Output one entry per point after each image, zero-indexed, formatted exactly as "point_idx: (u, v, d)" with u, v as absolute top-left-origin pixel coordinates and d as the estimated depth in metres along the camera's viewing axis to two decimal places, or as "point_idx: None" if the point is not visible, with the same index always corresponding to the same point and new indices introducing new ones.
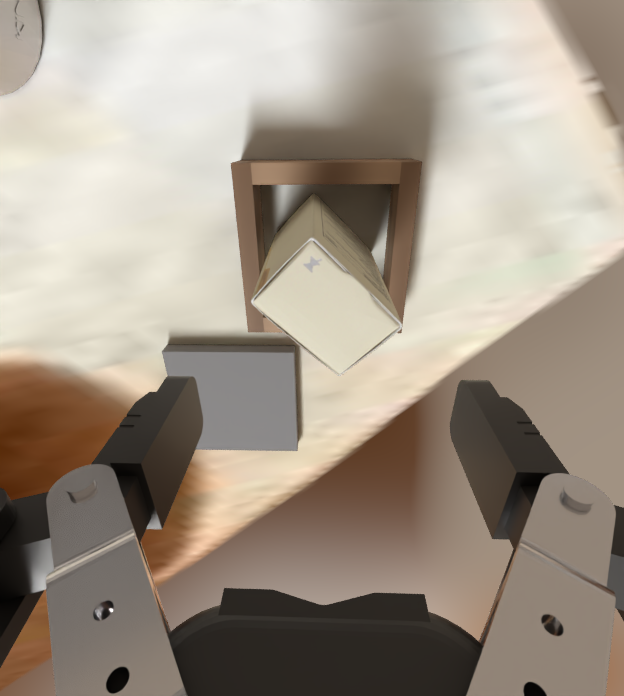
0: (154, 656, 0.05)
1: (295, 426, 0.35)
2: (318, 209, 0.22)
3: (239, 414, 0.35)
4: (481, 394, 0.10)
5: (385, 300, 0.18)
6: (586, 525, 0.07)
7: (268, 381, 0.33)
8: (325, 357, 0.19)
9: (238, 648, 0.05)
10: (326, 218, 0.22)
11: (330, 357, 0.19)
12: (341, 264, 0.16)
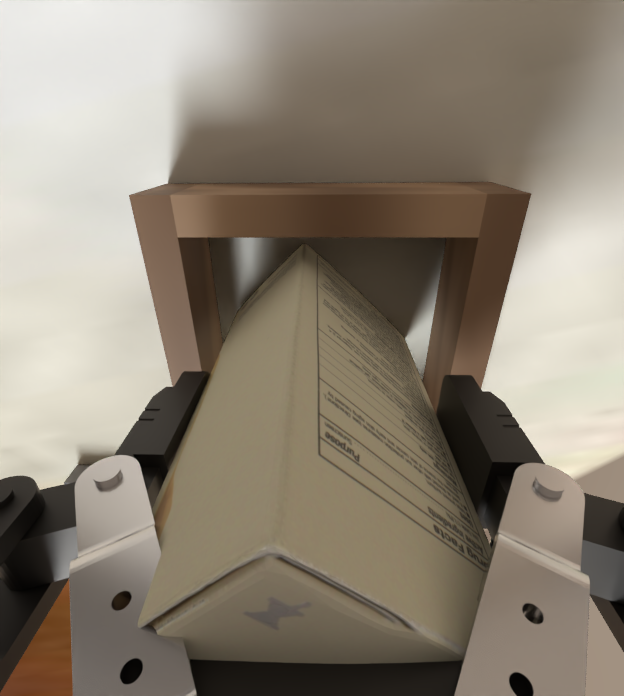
0: (167, 650, 0.05)
1: None
2: (310, 296, 0.10)
3: None
4: (463, 388, 0.10)
5: None
6: (556, 511, 0.07)
7: None
8: None
9: None
10: (328, 317, 0.10)
11: None
12: (383, 603, 0.05)
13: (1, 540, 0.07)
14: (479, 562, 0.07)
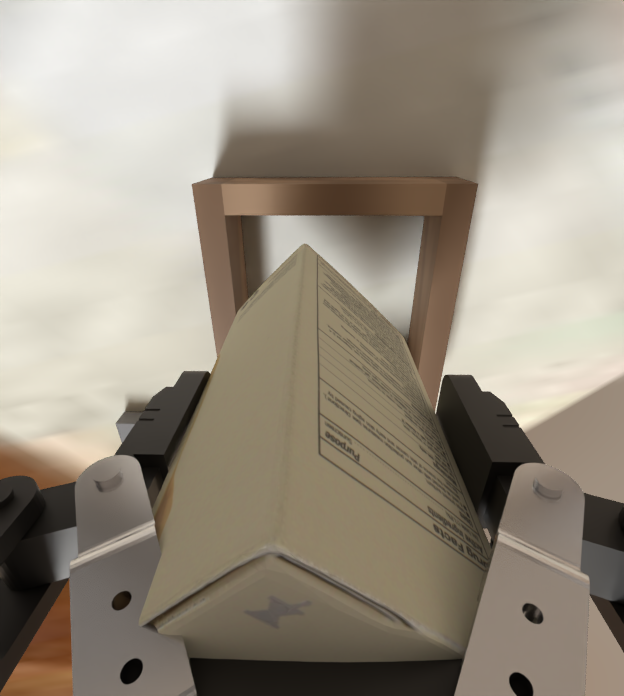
0: (168, 651, 0.05)
1: None
2: (311, 296, 0.10)
3: None
4: (463, 388, 0.10)
5: None
6: (556, 511, 0.07)
7: None
8: None
9: None
10: (328, 317, 0.10)
11: None
12: (383, 601, 0.05)
13: (1, 540, 0.07)
14: (479, 561, 0.07)
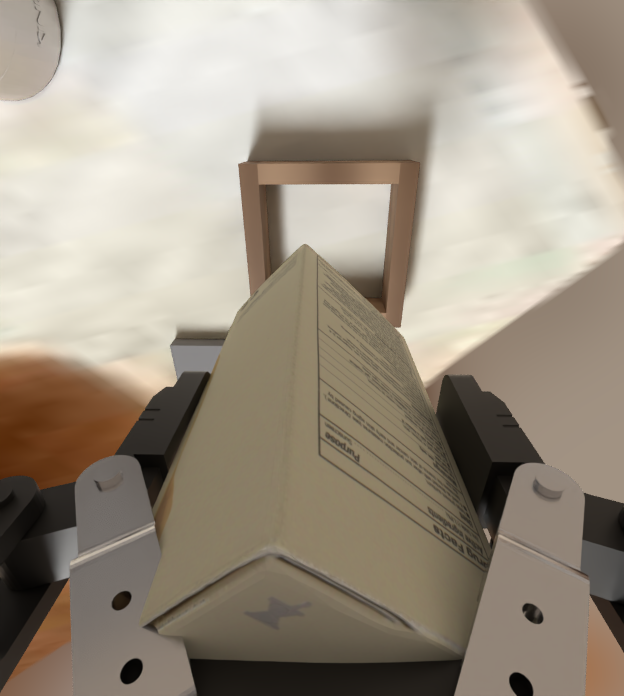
0: (167, 650, 0.05)
1: None
2: (311, 296, 0.10)
3: None
4: (463, 388, 0.10)
5: None
6: (555, 511, 0.07)
7: None
8: None
9: None
10: (328, 317, 0.10)
11: None
12: (383, 603, 0.05)
13: (1, 540, 0.07)
14: (479, 562, 0.07)
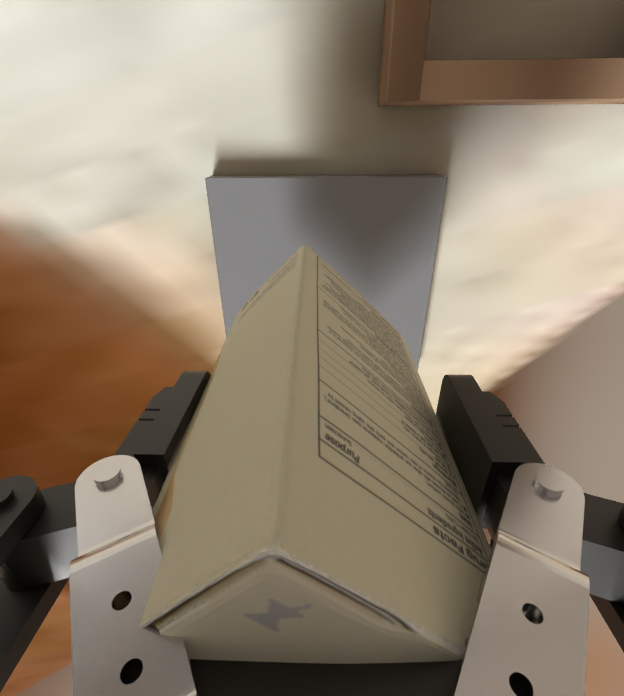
0: (167, 651, 0.05)
1: (421, 333, 0.21)
2: (311, 297, 0.10)
3: None
4: (463, 388, 0.10)
5: None
6: (555, 511, 0.07)
7: (390, 242, 0.19)
8: None
9: None
10: (328, 318, 0.10)
11: None
12: (382, 604, 0.05)
13: (1, 540, 0.07)
14: (478, 563, 0.07)
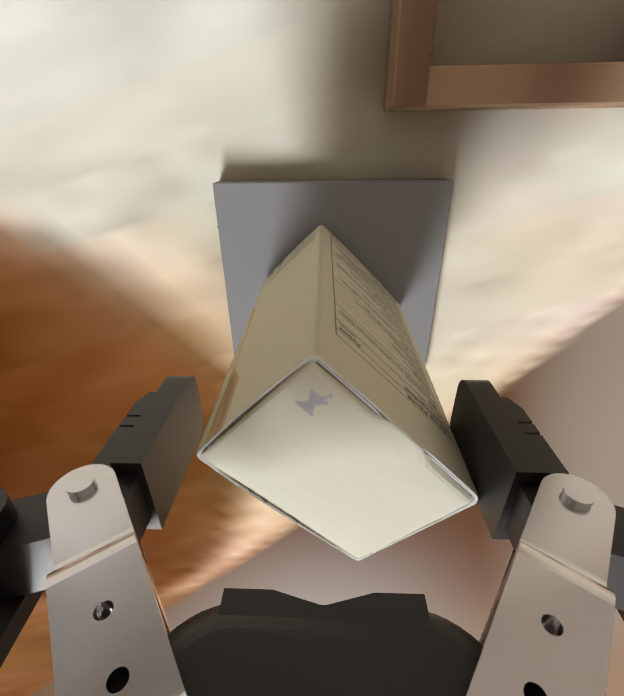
0: (154, 656, 0.05)
1: (427, 337, 0.21)
2: (327, 258, 0.14)
3: None
4: (481, 394, 0.10)
5: (445, 442, 0.10)
6: (586, 525, 0.07)
7: (396, 246, 0.19)
8: (334, 536, 0.11)
9: (238, 648, 0.05)
10: (340, 273, 0.14)
11: (344, 536, 0.11)
12: (371, 402, 0.08)
13: None
14: (438, 424, 0.11)
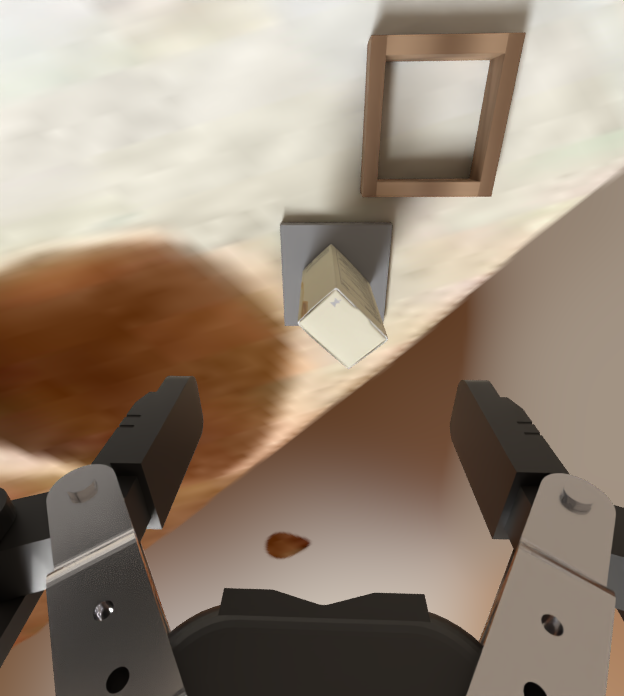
0: (154, 655, 0.05)
1: (384, 300, 0.41)
2: (336, 260, 0.34)
3: None
4: (481, 394, 0.10)
5: (378, 323, 0.30)
6: (586, 525, 0.07)
7: (367, 254, 0.38)
8: (340, 357, 0.30)
9: (238, 648, 0.05)
10: (341, 266, 0.34)
11: (343, 356, 0.30)
12: (352, 302, 0.28)
13: None
14: (376, 319, 0.31)
